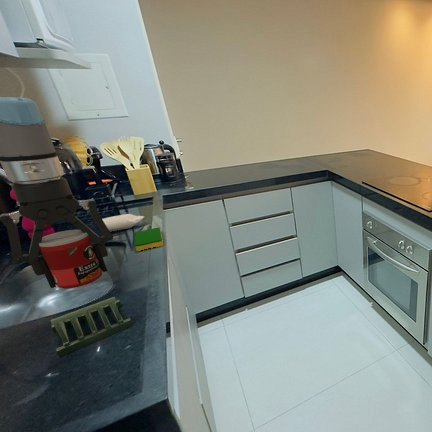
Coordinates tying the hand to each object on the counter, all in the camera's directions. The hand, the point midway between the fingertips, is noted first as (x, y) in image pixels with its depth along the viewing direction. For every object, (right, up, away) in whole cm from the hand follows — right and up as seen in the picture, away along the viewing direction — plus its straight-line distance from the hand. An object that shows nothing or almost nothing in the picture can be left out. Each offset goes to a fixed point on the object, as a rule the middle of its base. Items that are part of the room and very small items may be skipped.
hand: (79, 277), depth 67 cm
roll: (-29, +9, +46) cm, 56 cm away
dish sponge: (-12, +5, +35) cm, 37 cm away
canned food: (0, -1, 0) cm, 1 cm away
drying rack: (+8, -10, -5) cm, 14 cm away
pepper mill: (-56, +7, +41) cm, 70 cm away
